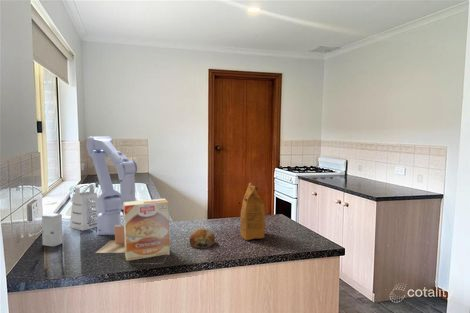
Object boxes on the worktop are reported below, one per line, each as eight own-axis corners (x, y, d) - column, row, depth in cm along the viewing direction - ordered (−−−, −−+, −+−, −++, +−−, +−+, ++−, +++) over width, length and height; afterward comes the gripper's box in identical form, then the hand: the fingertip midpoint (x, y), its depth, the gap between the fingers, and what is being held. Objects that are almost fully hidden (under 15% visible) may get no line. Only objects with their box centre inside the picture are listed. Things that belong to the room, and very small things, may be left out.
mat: (95, 253, 119) (94, 252, 119) (110, 241, 133) (110, 240, 133) (133, 253, 118) (133, 252, 118) (144, 241, 132) (144, 240, 132)
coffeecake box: (126, 262, 111) (124, 205, 109) (124, 255, 117) (122, 201, 116) (170, 255, 116) (168, 201, 115) (166, 248, 123) (164, 197, 122)
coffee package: (261, 231, 143) (260, 181, 141) (267, 240, 131) (266, 186, 129) (239, 232, 142) (238, 182, 140) (242, 241, 130) (241, 187, 128)
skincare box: (42, 245, 129) (40, 215, 128) (51, 241, 133) (49, 212, 132) (54, 246, 127) (52, 216, 126) (63, 243, 131) (61, 213, 130)
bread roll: (217, 251, 129) (220, 231, 132) (207, 248, 120) (210, 226, 123) (194, 249, 132) (197, 229, 135) (183, 246, 123) (187, 225, 126)
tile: (114, 243, 128) (114, 226, 128) (116, 242, 130) (115, 225, 129) (132, 243, 128) (131, 226, 128) (133, 242, 130) (133, 225, 129)
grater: (102, 224, 158) (101, 184, 156) (82, 230, 149) (80, 187, 147) (89, 222, 163) (88, 182, 162) (69, 227, 154) (67, 185, 153)
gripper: (131, 193, 126) (132, 227, 127) (142, 187, 141) (144, 218, 142) (113, 193, 126) (114, 228, 127) (126, 187, 141) (127, 218, 142)
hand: (129, 223), depth 134 cm, fingers closed
